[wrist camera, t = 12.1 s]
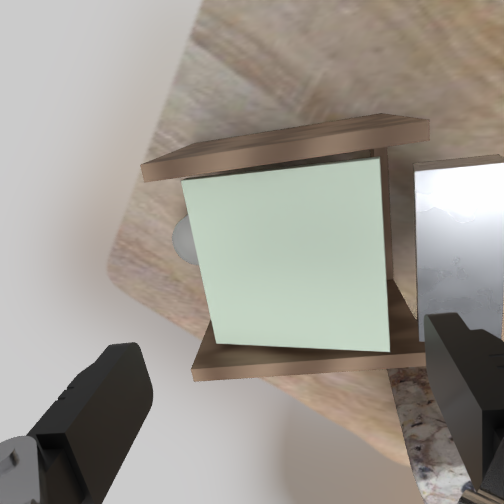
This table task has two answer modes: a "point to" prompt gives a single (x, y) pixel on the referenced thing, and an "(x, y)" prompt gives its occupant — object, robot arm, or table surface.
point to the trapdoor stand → (400, 317)
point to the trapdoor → (344, 250)
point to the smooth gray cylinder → (185, 241)
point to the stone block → (428, 438)
